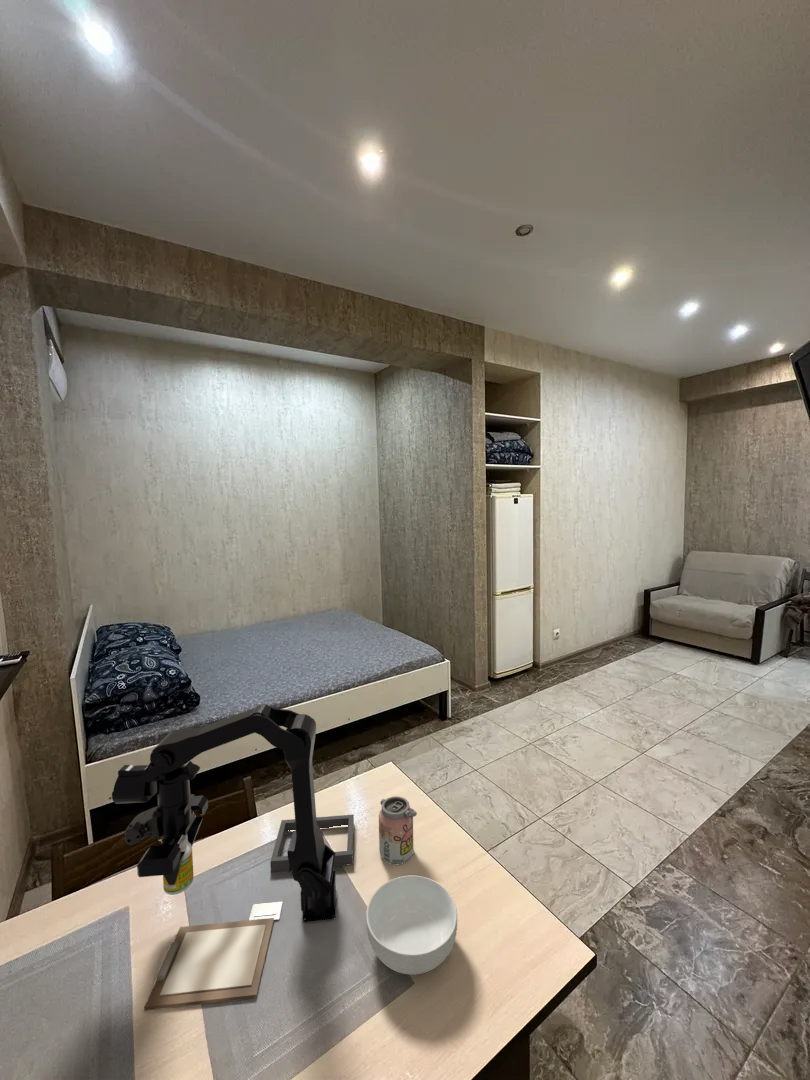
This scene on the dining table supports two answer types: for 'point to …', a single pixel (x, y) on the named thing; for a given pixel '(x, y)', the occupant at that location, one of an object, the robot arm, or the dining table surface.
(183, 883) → the supplement bottle
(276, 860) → the empty rectangular frame
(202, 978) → the clipboard
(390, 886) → the cereal bowl
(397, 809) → the beverage can
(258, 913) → the letter card
